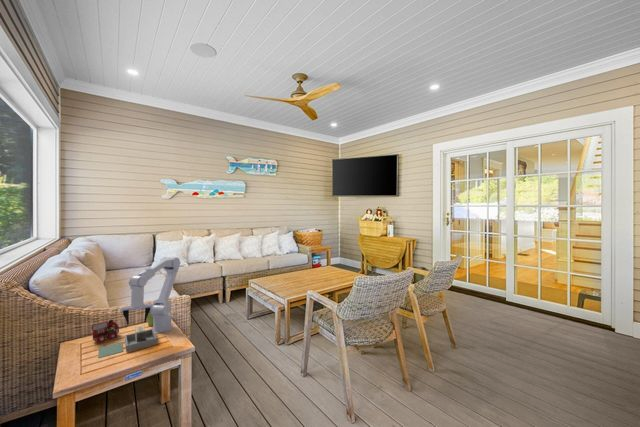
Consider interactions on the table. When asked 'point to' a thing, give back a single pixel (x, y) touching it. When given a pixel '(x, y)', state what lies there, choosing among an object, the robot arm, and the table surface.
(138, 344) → the grey tray
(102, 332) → the toy fire truck
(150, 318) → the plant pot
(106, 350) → the mat
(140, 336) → the box
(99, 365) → the table surface
